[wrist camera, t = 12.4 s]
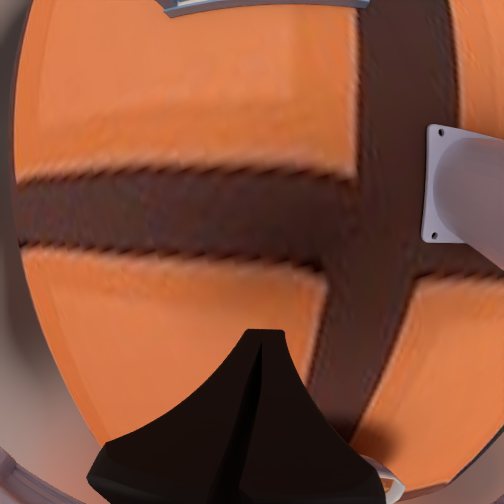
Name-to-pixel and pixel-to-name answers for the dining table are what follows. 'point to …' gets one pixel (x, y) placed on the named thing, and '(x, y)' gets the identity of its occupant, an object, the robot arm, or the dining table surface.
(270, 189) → the dining table surface
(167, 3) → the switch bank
